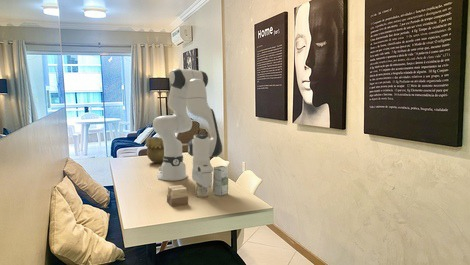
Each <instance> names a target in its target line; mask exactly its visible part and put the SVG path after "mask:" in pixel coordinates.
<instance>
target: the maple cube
mask: <svg viewBox="0 0 470 265" xmlns="http://www.w3.org/2000/svg"><path fill="white" fill-rule="evenodd" d="M194 188H195V189H194V195H195V196H196V197H197V198H201V197H208V195H209V194H208V193H209V190H208V189H209V188H207V189H206V194H202V193H201V190H202V186H201V185H196V184H195V185H194Z"/></svg>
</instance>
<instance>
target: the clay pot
mask: <svg viewBox="0 0 470 265" xmlns="http://www.w3.org/2000/svg"><path fill="white" fill-rule="evenodd" d="M145 140H146V142H145V147H147V148H146V156H147V158H148V159H149V161H151V162H153V163H155V164H162V163H163V156H164V144H163V140H162V138H161V137H157V136H155V137H154V136H151V137H146V139H145Z"/></svg>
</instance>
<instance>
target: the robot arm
mask: <svg viewBox="0 0 470 265" xmlns="http://www.w3.org/2000/svg"><path fill="white" fill-rule="evenodd" d="M168 79H169V83H170V85H171V86H170V90H169V95H168V98H167V106H168V108H169V109H170V110H171V111H173V113H172V114H171V115H160V116H157V117H154V119H153V120H152V129H153V130H154V132H155V133H156V134H157V135H158V136H159V138H162V140H163V144H164V156H163V163H161V165H160V166H159V167H158V172H157V174H156V175H157V179H158V180H159V181H162V180H163V181H181V180H184V179H186V178H189V175H188V174H187V169H186V164H185V163H184V162H183V161H184V155H183V143H182V141H181V140H179V139H178V138H176V136H175V135H176V134H180V133H185V132H189V131H190V130H192V126H193V121H192V118H191V117H190V116H189V114H188V112H189V113H190V114H191V115H193V116H195V117H197V118H200V119H202V120H204V121H205V122H206V123H207V124H208V128H209V132H210V137H209V135H208V134H206V133H197V134H194V135H193V138H192V139H190V140H188V142H187V154H188V155H189V156H191V157H193V158H192V169H191V178H192V181H194V182H195V183H196V184H195V185H201V186H202V190H201V193H202V194H206V189H207V188H208V189H209V188H211V187H213V168H214V167H213V166H212V164H211V158H217V157H219V156H220V155H221V154H222V152H223V144H222V141H221V137H220V132H219V128H218V122H217V119H216V114H215V112H214V110H213V108H211V107H210V106H209V103H208V97H207V95H208V94H207V89H206V87H208V84H209V77H208V74H207V73H206V72H204V71H202V70H197V69H192V68H190V69H186V68H175V69H174V68H173V69H172V70H171V71H170V74H169V78H168ZM187 111H188V112H187ZM210 157H211V158H210Z"/></svg>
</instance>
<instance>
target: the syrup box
mask: <svg viewBox="0 0 470 265" xmlns="http://www.w3.org/2000/svg"><path fill="white" fill-rule="evenodd" d="M212 193H213V195H216V196H219V197H222V196H225V195H228V194H229V167H228V166H225V165H218V166H214V167H213V172H212Z"/></svg>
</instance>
